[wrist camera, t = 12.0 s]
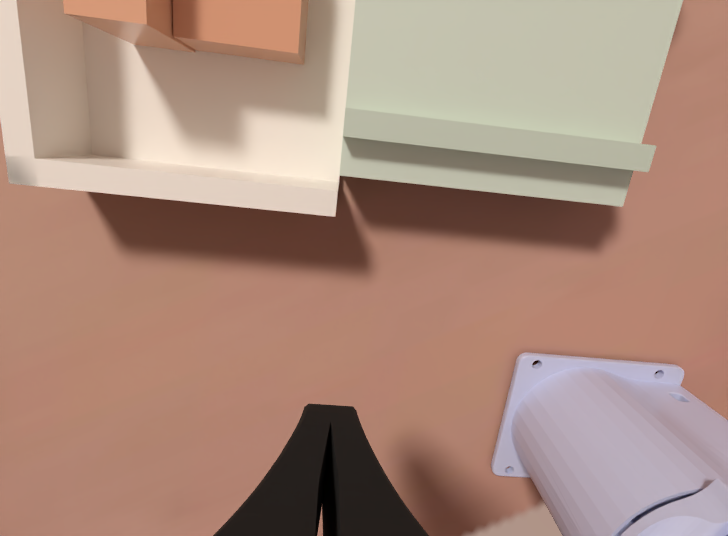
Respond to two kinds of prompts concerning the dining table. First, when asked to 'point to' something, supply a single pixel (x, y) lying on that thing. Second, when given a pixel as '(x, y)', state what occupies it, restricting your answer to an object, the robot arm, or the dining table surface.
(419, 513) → the dining table surface
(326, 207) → the box
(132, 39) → the tile
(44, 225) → the dining table surface
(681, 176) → the dining table surface
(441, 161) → the two-ridged green plate
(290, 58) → the tile
